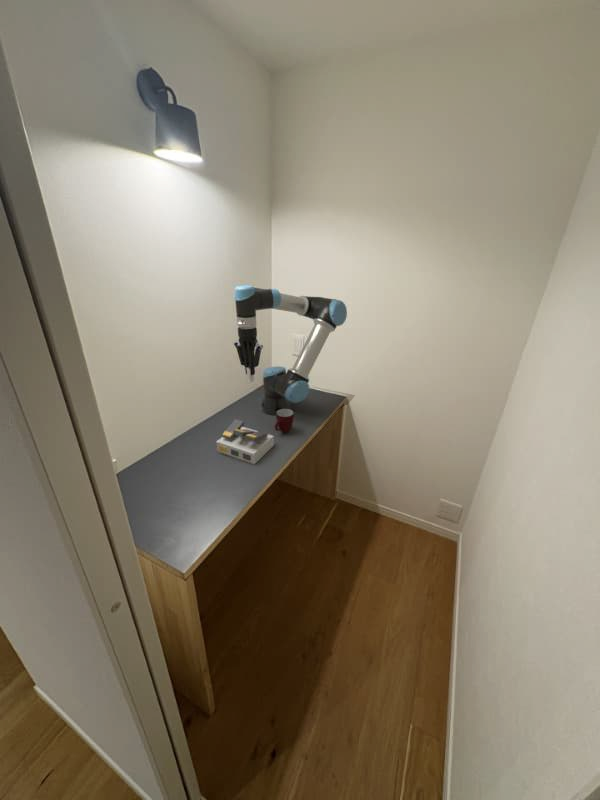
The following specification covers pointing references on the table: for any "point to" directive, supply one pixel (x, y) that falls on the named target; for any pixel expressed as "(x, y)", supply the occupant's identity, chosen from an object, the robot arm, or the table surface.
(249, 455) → the switch unit
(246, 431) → the rocker
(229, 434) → the rocker
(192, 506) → the table surface
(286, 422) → the mug
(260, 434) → the rocker
